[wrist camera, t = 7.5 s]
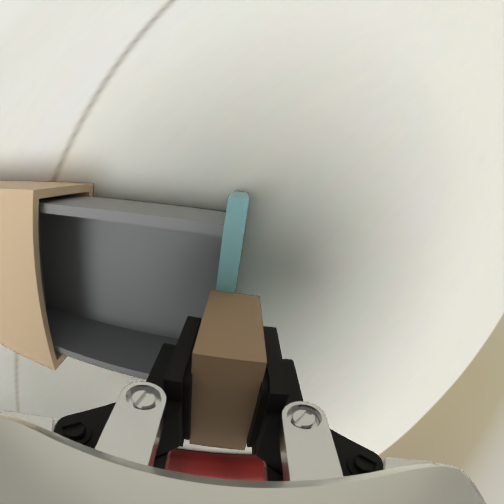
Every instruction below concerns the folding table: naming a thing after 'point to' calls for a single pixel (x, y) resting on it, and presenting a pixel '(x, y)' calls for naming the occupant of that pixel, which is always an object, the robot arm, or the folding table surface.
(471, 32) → the folding table surface
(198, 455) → the hardcover book
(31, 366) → the folding table surface
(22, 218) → the cardboard box
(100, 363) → the tray
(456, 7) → the folding table surface
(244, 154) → the folding table surface
